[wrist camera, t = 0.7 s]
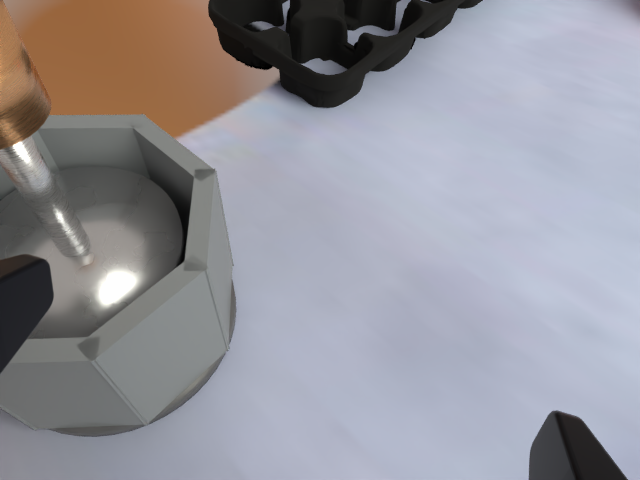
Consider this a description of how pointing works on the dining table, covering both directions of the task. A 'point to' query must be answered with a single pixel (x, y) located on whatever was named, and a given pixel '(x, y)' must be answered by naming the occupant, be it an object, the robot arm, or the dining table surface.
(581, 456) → the robot arm
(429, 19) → the egg carton
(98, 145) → the press jug
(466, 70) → the dining table surface
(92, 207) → the plunger
